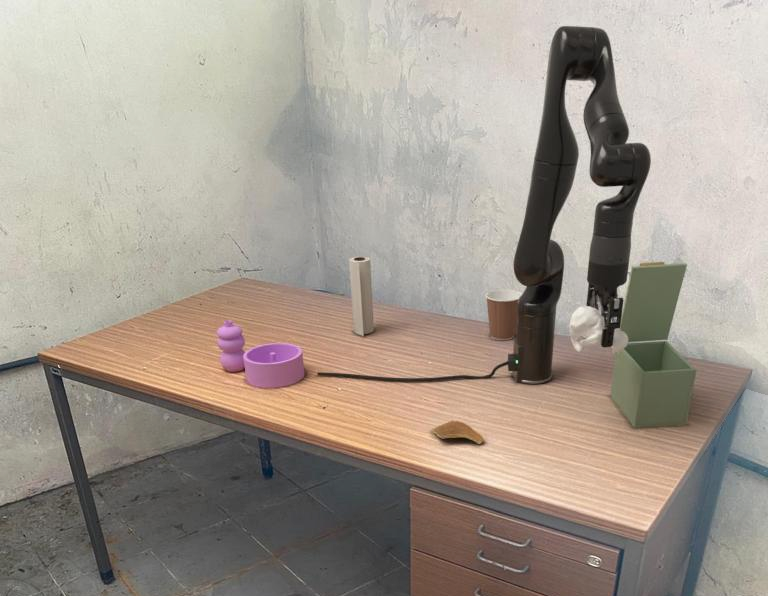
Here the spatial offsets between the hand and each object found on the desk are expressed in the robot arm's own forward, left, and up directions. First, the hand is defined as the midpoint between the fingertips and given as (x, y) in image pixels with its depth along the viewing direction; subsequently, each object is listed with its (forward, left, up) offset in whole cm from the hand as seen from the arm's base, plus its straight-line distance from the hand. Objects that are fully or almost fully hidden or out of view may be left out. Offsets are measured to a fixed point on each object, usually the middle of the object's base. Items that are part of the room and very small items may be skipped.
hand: (599, 339), depth 155 cm
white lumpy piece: (0, 0, -2) cm, 2 cm away
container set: (-76, +45, -21) cm, 91 cm away
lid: (+16, +15, +1) cm, 22 cm away
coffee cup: (-8, +62, -21) cm, 66 cm away
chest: (+16, +9, -21) cm, 27 cm away
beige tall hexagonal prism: (-48, +73, -21) cm, 90 cm away
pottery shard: (-29, +1, -21) cm, 36 cm away
